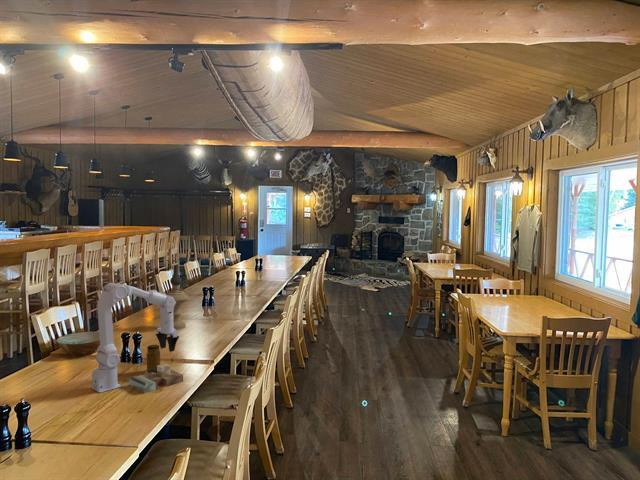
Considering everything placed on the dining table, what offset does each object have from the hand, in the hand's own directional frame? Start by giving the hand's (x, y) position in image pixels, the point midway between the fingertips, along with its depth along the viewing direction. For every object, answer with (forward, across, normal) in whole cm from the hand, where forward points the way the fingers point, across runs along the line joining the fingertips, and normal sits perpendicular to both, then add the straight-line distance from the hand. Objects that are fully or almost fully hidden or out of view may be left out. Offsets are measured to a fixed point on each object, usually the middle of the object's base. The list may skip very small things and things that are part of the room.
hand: (167, 349), depth 224 cm
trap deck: (+10, -11, +12) cm, 19 cm away
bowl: (+10, +60, +14) cm, 62 cm away
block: (+7, -11, +8) cm, 16 cm away
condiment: (+10, +4, +4) cm, 12 cm away
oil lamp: (+10, +70, -48) cm, 85 cm away
